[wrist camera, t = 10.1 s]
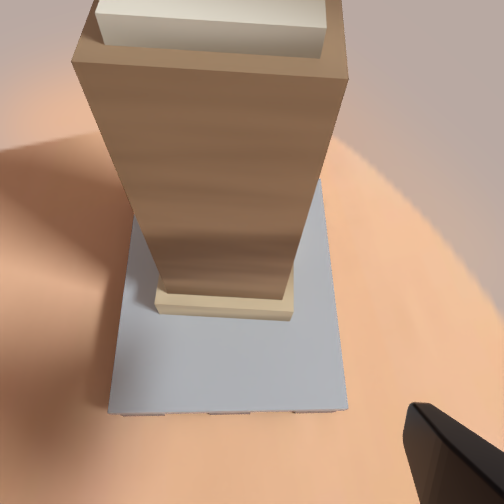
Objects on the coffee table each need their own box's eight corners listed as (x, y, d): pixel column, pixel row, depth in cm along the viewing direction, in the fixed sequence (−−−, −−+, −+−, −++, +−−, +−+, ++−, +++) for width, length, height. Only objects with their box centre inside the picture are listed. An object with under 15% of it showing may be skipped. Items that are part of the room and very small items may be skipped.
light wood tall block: (289, 321, 18) (391, 70, 6) (159, 314, 18) (17, 47, 6) (290, 211, 21) (361, -108, 9) (176, 205, 21) (100, -125, 9)
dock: (340, 412, 18) (348, 408, 17) (117, 416, 18) (107, 413, 16) (315, 194, 24) (320, 178, 22) (144, 193, 23) (139, 177, 22)
